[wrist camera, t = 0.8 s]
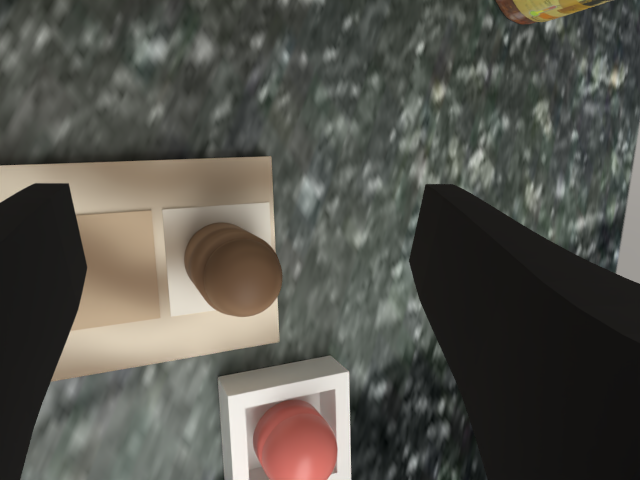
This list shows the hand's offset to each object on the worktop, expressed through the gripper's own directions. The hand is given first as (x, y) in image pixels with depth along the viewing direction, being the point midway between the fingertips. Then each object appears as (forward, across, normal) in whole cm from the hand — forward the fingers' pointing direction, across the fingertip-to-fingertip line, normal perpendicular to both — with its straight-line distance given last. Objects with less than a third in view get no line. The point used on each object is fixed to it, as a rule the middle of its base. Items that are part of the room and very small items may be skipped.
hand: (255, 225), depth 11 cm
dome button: (+12, -3, +24) cm, 27 cm away
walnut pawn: (+17, +2, +13) cm, 21 cm away
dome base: (+13, -2, +25) cm, 28 cm away
